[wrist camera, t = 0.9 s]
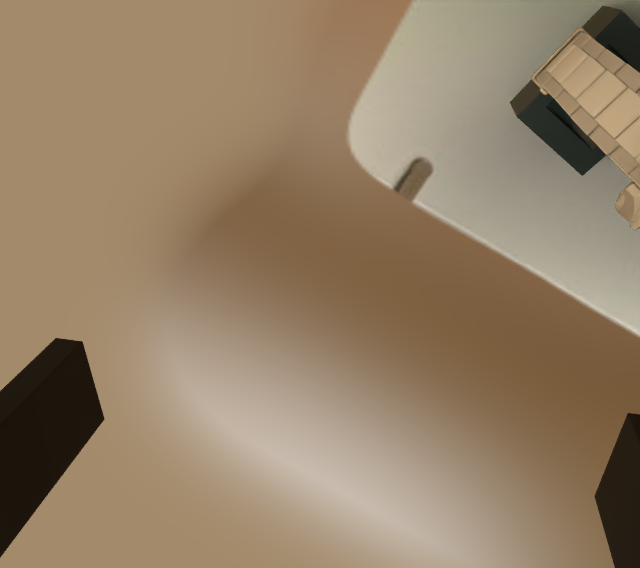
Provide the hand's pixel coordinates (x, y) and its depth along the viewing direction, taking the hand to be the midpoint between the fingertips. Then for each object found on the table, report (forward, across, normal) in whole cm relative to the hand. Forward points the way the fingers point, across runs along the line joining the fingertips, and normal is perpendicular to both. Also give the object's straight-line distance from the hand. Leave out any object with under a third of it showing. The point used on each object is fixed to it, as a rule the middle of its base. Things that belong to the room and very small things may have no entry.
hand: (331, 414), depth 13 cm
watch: (+20, +9, +4) cm, 23 cm away
